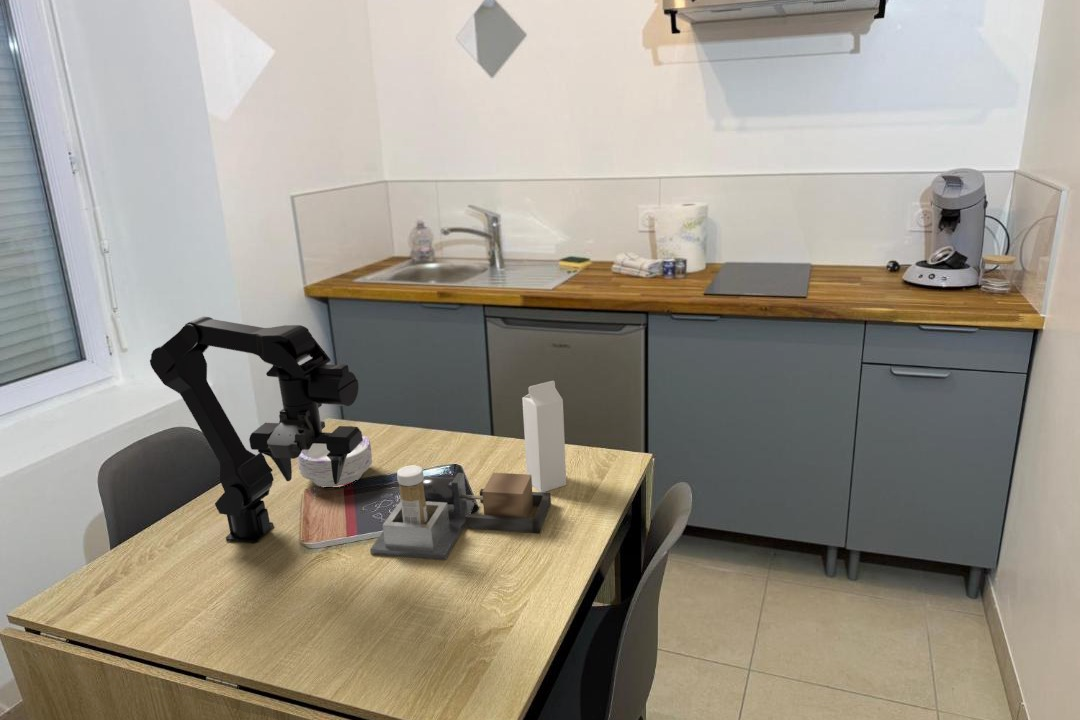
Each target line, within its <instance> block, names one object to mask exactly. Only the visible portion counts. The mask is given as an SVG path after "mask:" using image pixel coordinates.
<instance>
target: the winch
mask: <svg viewBox="0 0 1080 720" xmlns="http://www.w3.org/2000/svg"><path fill="white" fill-rule="evenodd" d="M465 481H466V480H465V473H464V472H457V474H456V475H455V476H454V477H437V476H424V479H423V486H424V495H425V501H426V509H427V518H428V519H427V521H428V523H427V524H414V523H403V515H402V507H401V500H400V501H399V502H398V504H397V505H396V506H395V508H393V510H392V512H391V513H390V514H389V515H388V517H387V519H386V520H385V521H384V522H383V524H382V531H381V534H380V535H379V536H378V538H377V539H376V541H375V542H374V543H373V545H372V546H371V547H370V549H369V551H370V555H381V556H393V557H394V556H395V557H404V558H415V559H419V558H420V559H428V560H440V561H446V560H447V559H448V556H449V555H450V553H451V551H452V549H453V547H454V546H455V545H456V542H457V540H458V539H459V537H460V535H461V533H462V532H463V530H464V528H465V527H466V521H465V516H466V514H469V513H470V511H471V509H472V507H473V505H474V503H476V504H477V501H476V500H483V496H480V495H473V494H472V495H471V494H467V493H466V492H467V491H466V482H465ZM472 501H474V503H473V502H472Z"/></svg>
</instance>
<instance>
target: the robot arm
mask: <svg viewBox="0 0 1080 720" xmlns="http://www.w3.org/2000/svg"><path fill="white" fill-rule="evenodd" d="M209 347H214V348H220V349H225V350H231V351H234V352H235V351H236V352H241V353H246V354H251V355H255V356H257V357H259V358H260V359H261V360H262V362H264V363H265V364H266V363H267V364H269V365H271V367H270V368H269V370H268V371H266V376H267V377H270V378H271V377H272V378H277V379H278V384H279V390H280V395H281V402H282V409H281V410H279V415H278V417H279V421H278V422H264V423H263V424H262V425H260V426H259V427H257V429H255V430H254V431H253V432H252V433H250V436H249V439H248V441H249V446H250V449H251V450H254V451H257V452H258V453H257V454H255V453H253V452H251V451H249V450H248V449H247V448H246V447H245V445H244V444H243V442H242V440H241V438H240V436H239V435H238V433H237V431H236V429H235V427H234V425H233V424H232V422H231V421H230V419H229V417H228V416H227V413H226V411H225V410H224V408H223V406H222V404H221V403H220V401H219V400H218V398H217V396H216V395H215V393H214V391H213V389H212V388H211V386H210V384H209V382H208V363H207V361H206V358H205V356H204V353H205V352H206V350H208V349H209ZM308 357H311V359H309V360H307V361H305V362H302V361H304V360H305V359H307V358H308ZM299 362H302V363H301V364H299ZM330 362H331V358H330V357H329V356H328V354H327V353H326V351H325V350H324V349H323V348H322V346H321V345H319V343H318V342H317V340H316V339H315V338H314V337H313V334H312V333H311V332H310V331H309V328H308V327H306V326H303V325H298V324H294V325H293V324H292V325H291V324H290V325H289V324H288V325H287V324H285V325H279V326H274V327H272V326H271V327H260V326H255V325H250V324H249V325H248V324H243V323H237V322H231V321H225V320H219V319H214V318H212V317H211V316H202V317H199V318H197V319H196V318H195V319H194V320H191V321H189V322H187V323H185V324H184V325H183V327H182V328H181V329H180V330H179V331H178V332H177V333H176V334H175V335H173V336H172V337H171V338H170V339H168V340H167V341H166V342H165V343H163V344H162V345H161V346H158V347H156V348H155V349H153V350H152V352H151V354H150V359H149V363H150V364H149V365H150V366H151V369H152V370H153V372H154V373H155V375H156V376H157V377H158V379H159V380H160V381H161V382H162V384H163V385H164V386H166V387H167V388H169V389H171V390H172V391H175V392H176V393H177V394H179V395H180V396H181V398H182V399H183V401H184V403H185V404H186V407H187V408H188V410H189V412H190V413H191V415H192V417H193V418H194V420H195V422H196V424H197V427H199V429H200V431H201V432H202V434H203V436H204V438H205V439H206V441H207V443H208V444H209V447H210V448H211V450H212V451H213V454H214V455H215V457H216V458H217V460H218V462H219V464H220V465H219V482H220V484H221V486H222V488H223V491H224V492H223V493H222V495H221V496H220V497H219V498H218V499H217V501H216V502H215V503H214V506H215V508H216V510H217V512H218V513H219V514H221V515H226V518H227V522H228V528H229V533H228V534H227V535H226V536H225V540H226V541H229V542H244V543H251V544H252V543H254V544H255V543H258V542H259V541H260V540H261V538H263V537H264V536H265V534H267V532H269V531H270V529H271V528H272V527H274V522H271V521H270V516H269V511H268V508H266V505H265V501H264V500H263V499H264V498H265V497H267V496H269V495H270V491H271V490H270V489H271V488H272V486H273V483H274V480H275V479H274V476H273V473H272V472H273V470H274V469H273V468H271V466H270V465H269V463H268V462H267V460H266V458H265V456H267V457H270V458H271V460H272V461H273V462H274V463H275V465H276V467H277V468H278V469H279V471H280V473H281V474H282V476H283V478H284V479H285V481H286V482H290V481H291V480H292V476H293V475H292V474H293V473H292V472H293V469H292V468H293V467H292V459H297V457H298V456H299V455H300V454H301V451H302V450H309V449H310V447H311V446H312V444H313V443H318V444H326V446H327V450H328V451H329V453H328V454H327V457H328V458H329V459H330V460H331V466H332V475H333V480H334V484H338V482H339V480H340V477H341V473H342V470H343V466H344V463H345V460H346V457H347V454H349V453H351V452H352V451H353V450H354V449H355V448H356V447H357V446H358V445H359V444H360V443H361V442H362V441H363V439H362V434H363V433H362V430H361V429H360V428H359V427H358V426H353V425H352V426H350V425H347V426H346V425H339V426H338V427H336V428H335V429H334V430H333V431H331V432H332V433H330V432H325V431H324V432H323V430H324V429H325V428H326V421H323V420H322V421H321V416H320V415H321V414H320V408H321V407H322V406H323V405H331V406H332V405H333V406H343V407H351V406H352V405H353V404H354V403H355V401H356V400H357V397H358V394H359V380H358V379H357V378H356V375H355V373H354V372H353V371H352V372H351V371H350V369H349V365H347V364H328V363H330Z"/></svg>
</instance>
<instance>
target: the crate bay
mask: <svg viewBox="0 0 1080 720" xmlns="http://www.w3.org/2000/svg"><path fill="white" fill-rule="evenodd" d="M479 496H483V500H480V501H479V502H480V503H482V505H483V513H484V514H481V513H479V514H478V513H472V514H466V516H465V521H466V525H465V528H466V529H474V530H475V529H476V530H487V531H501V532H504V531H505V532H516V533H526V534H527V533H529V534H541V530H542V528H543V526H544V523H545V521H546V519H547V518H546V517H547V515H548V512H549V509H550V507H551V505H552V498H551V497H552V496H551V493H550V492H540V491H538V492H537V491H533V486H532V477H531V475H528V474H527V473H526V474H524V473H523V474H522V473H509V472H508V473H506V472H492V474H491V476H490V477H489V478H488V481H487V482H486V484H485V486H484V488H481V489H480V490H479ZM534 507H537V509H536V511H535V514H534V516H533V517H530V515H531V514H532V511H533V509H534Z"/></svg>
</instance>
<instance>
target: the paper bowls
mask: <svg viewBox="0 0 1080 720" xmlns="http://www.w3.org/2000/svg"><path fill="white" fill-rule="evenodd" d="M332 432H333V431H331V432H329V433H332ZM362 439H363V441H362V442H361V443H360V444H359V445H358V446H357V447H356V448H355V449H354V450H353V451H352V452H351V453H349V454H347V457H346V460H345V463H344V466H343V470H342V473H341V477H340V480H339V482H338V484H334V480H333V475H332V466H331V460H330V459H329V458H328V457H327V454H328V453H329V451H328V450H327V446H326V444H318V443H313V444H312V446H311V447H310V449H309V450H302V451H301V454H300V455H299V456H298V457H297V458H296V459H297V464H298V465H297V466H298V470H299V474H300V475H301V476H302V477H303V478H304V479H306V480H309V481H312V483H314V485H315V486H318V487H320V486H326V487H333V486H338V485H343V484H346V483H349V482H353V481H355V480H357V481H358V480H359V479H361V477H362V476H363V474H364V473H365V472H366V471H368V470H369V469H370V467H371V466H372V463H373V456H372V455H373V454H372V446H371V440H370V439H369V437H367V435H364V434H363V433H362ZM355 482H356V481H355Z"/></svg>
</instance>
